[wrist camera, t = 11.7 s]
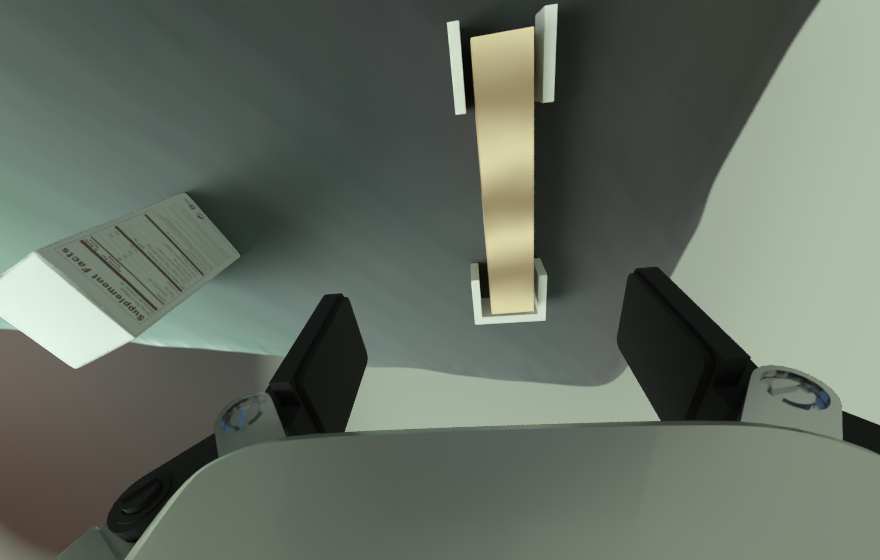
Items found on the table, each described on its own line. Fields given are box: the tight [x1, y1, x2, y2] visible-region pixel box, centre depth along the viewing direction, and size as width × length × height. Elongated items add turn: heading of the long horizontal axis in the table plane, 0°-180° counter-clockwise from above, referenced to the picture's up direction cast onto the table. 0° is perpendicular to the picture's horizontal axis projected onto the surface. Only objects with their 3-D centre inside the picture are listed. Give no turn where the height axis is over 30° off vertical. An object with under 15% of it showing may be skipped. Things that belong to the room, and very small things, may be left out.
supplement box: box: [0, 193, 240, 369], centre depth 27 cm, size 7×7×13 cm
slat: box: [470, 26, 534, 314], centre depth 26 cm, size 20×4×4 cm, turn 8°
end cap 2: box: [471, 258, 547, 325], centre depth 31 cm, size 5×6×3 cm
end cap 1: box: [447, 4, 558, 115], centre depth 22 cm, size 5×6×3 cm
